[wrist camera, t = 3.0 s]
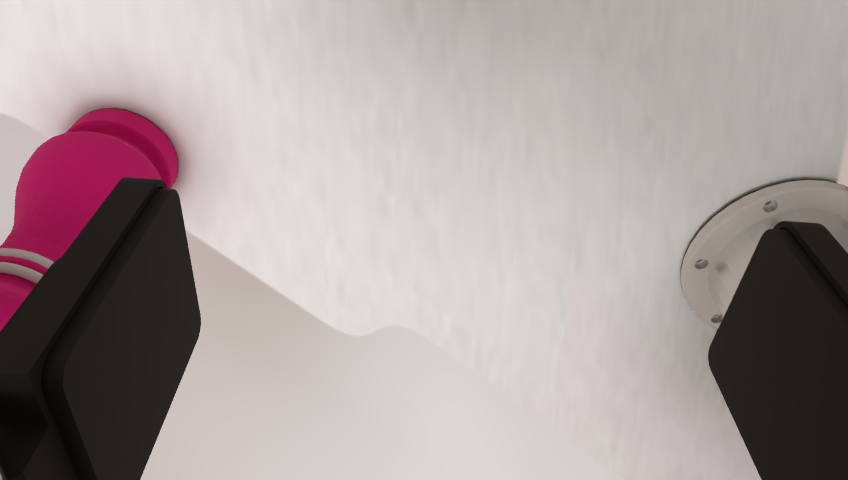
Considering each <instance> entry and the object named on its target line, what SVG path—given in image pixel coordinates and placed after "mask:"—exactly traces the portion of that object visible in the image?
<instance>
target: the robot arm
mask: <svg viewBox="0 0 848 480" xmlns="http://www.w3.org/2000/svg"><path fill="white" fill-rule="evenodd" d="M681 286H682V289H683V292H684V295H685V298H686V300H687V301H688V303H689V305H690V307H691V309H692V310H693V312H694V313H695V314H696V315H697V316H698V317H699V318H700V319H701V320H702V321H704V322H705V323H707V324H708V325H710V326H712V327H714V328H717V329H718V330H717V332H716V334H715V337H714V339H713V341H712V343H711V345H710V348H709V354H708V360H709V366H710V369H711V371H712V373H713V375H714V378H715V380H716V382H717V384H718V386H719V388H720V391H721V393H722V395H723V397H724V399H725V401H726V404H727V406H728V408H729V410H730V412H731V414H732V416H733V419H734V421H735V423H736V425H737V427H738V429H739V432H740V434H741V436H742V438H743V440H744V442H745V445H746V447H747V449H748V451H749V453H750V455H751V458H752V460H753V462H754V464H755V466H756V468H757V471H758V473H759V475H760V477H761V479H762V480H848V187H846V186H844V185H841V184H837V183H833V182H829V181H820V180H801V181H791V182H785V183H781V184H777V185H773V186H769V187H766V188H764V189H761V190H759V191H756V192H754V193H751V194H749V195H746V196H745V197H743V198H741V199H739V200H738V201H736V202H734V203H732V204H730V205H729V206H728V207H726V208H725V209H724V210H722V211H721V212H720V213H718V214H717V215H716V216H714V217H713V218H712V219H711V220H710V221H709V222H708V223H707V224H706V225H705V226H704V227H703V228H702V229H701V230H700V231H699V233H698V234H697V236H696V237H695V239H694V240H693V241H692V243H691V244H690V246H689V248H688V250H687V253H686V255H685V257H684V260H683V264H682V269H681ZM200 326H201V317H200V310H199V305H198V299H197V294H196V288H195V282H194V277H193V271H192V265H191V260H190V254H189V249H188V243H187V238H186V232H185V226H184V221H183V215H182V209H181V204H180V198H179V195H178V193H177V191H176V190H174V189H168V188H167V185H166V184H165V182H164V181H163V180H161V179H147V178H132V177H124V178H122V179H121V180H120V181H119V182H118V183H117V185H116V186H115V187H114V189H113V190H112V191H111V193H110V194H109V195H108V197H107V198H106V199H105V201H104V202H103V203H102V204H101V206H100V207H99V208H98V210H97V211H96V212H95V214H94V215H93V216H92V218H91V219H90V220H89V222H88V223H87V224H86V226H85V227H84V228H83V230H82V231H81V232H80V233H79V235H78V236H77V237H76V239H75V240H74V241H73V243H72V244H71V245H70V247H69V248H68V249H67V251H66V252H65V253H64V255H63V256H62V257H61V258H59V259H57V260H56V261H55V262H54V263H53V264H52V265H51V266H50V267H49V269H48V270H47V271H46V273H45V274H44V275H43V276H42V278H41V279H40V280H39V282H38V283H37V284H36V286H35V287H34V288H33V289H32V291H31V292H30V293H29V295H28V296H27V297H26V299H25V300H24V301H23V302H22V304H21V305H20V306H19V308H18V309H17V310H16V312H15V313H14V314H13V316H12V317H11V318H10V319H9V321H8V322H7V323H6V325H5V326H4V327H3V329H2V330H1V331H0V480H140V478H141V476H142V473H143V471H144V468H145V466H146V464H147V461H148V459H149V456H150V454H151V452H152V449H153V447H154V444H155V442H156V439H157V437H158V435H159V432H160V430H161V427H162V425H163V422H164V420H165V417H166V415H167V413H168V410H169V408H170V405H171V403H172V401H173V398H174V396H175V393H176V391H177V388H178V386H179V383H180V381H181V379H182V376H183V374H184V371H185V369H186V366H187V364H188V362H189V359H190V357H191V354H192V352H193V349H194V347H195V344H196V342H197V340H198V337H199V333H200Z"/></svg>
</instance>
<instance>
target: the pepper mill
mask: <svg viewBox="0 0 848 480" xmlns="http://www.w3.org/2000/svg"><path fill="white" fill-rule="evenodd" d="M177 173H178V160H177V156H176V153H175V150H174V148H173V146H172V144H171V142H170V141H169V139H168V138H167V137H166V135H165V134H164V133H163V132H162V131H161V130H160V129H159V128H158V127H157V126H155V125H154V124H152V123H151V122H150V121H148V120H147V119H145V118H143V117H141V116H139V115H137V114H134V113H131V112H129V111H125V110H118V109H101V110H96V111H92V112H90V113H88V114H86V115H84V116H83V117H81V118H80V119H79V120H78V121H77V122H76V123H75V124H74V125H73V126H72V127H71V128H70V129H69V130H68V131H67V132H66V133H64V134H61V135H58V136H55V137H53V138H51V139H49V140H48V141H46V142H45V143H43V144H42V145H41V146H40V147H38V148H37V150H36V151H35V152H34V153H33V155H32V156H31V158H30V159H29V160H28V162H27V163H26V165H25V167H24V168H23V170H22V173H21V176H20V179H19V182H18V185H17V188H16V197H15V217H14V226H13V229H12V231H11V233H10V235H9V236H8V237H7V239H6V240H5V242H4V243H3V244H2V245H1V246H0V331H1V330H2V329H3V327H4V326H5V325H6V323H7V322H8V321H9V319H10V318H11V317H12V316H13V314H14V313H15V312H16V310H17V309H18V308H19V306H20V305H21V304H22V302H23V301H24V300H25V299H26V297H27V296H28V295H29V293H30V292H31V291H32V289H33V288H34V287H35V286H36V284H37V283H38V282H39V280H40V279H41V278H42V276H43V275H44V274H45V273H46V271H47V270H48V269H49V267H50V266H51V265H52V264H53V263H54V262H55V261H56V260H57V259H59V258H61V257H62V256H63V255H64V253H65V252H66V251H67V249H68V248H69V247H70V245H71V244H72V243H73V241H74V240H75V239H76V237H77V236H78V235H79V233H80V232H81V231H82V230H83V228H84V227H85V226H86V224H87V223H88V222H89V220H90V219H91V218H92V216H93V215H94V214H95V212H96V211H97V210H98V208H99V207H100V206H101V204H102V203H103V202H104V201H105V199H106V198H107V197H108V195H109V194H110V193H111V191H112V190H113V189H114V187H115V186H116V185H117V183H118V182H119V181H120V180H121V179H122V178H124V177H132V178H147V179H161V180H163V181H164V182H165V184H166V185H167V188H168V189H171V187H172V186H173V184H174V182H175V180H176V178H177Z"/></svg>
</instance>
